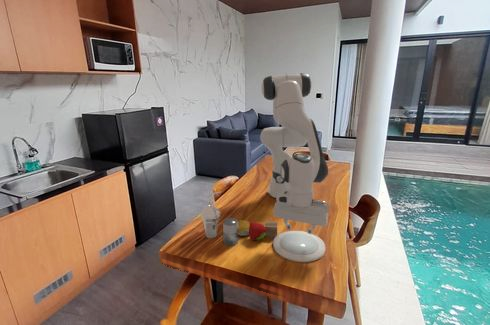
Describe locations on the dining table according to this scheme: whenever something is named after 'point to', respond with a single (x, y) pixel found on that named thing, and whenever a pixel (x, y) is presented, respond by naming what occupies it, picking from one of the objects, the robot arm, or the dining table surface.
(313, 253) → the plate
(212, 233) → the cup with straw
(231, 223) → the drinking glass
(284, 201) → the robot arm
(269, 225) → the walnut block
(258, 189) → the dining table surface
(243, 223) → the bread roll
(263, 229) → the strawberry
